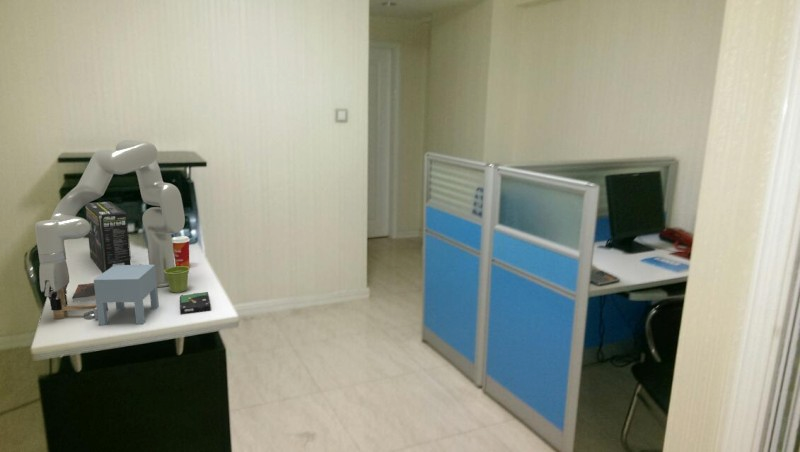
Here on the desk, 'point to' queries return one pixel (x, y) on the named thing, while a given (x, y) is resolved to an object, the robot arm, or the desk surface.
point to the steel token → (89, 315)
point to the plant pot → (177, 278)
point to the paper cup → (181, 250)
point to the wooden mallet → (72, 307)
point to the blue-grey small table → (126, 289)
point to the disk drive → (194, 303)
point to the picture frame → (84, 293)
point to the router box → (108, 235)
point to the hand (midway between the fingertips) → (59, 307)
